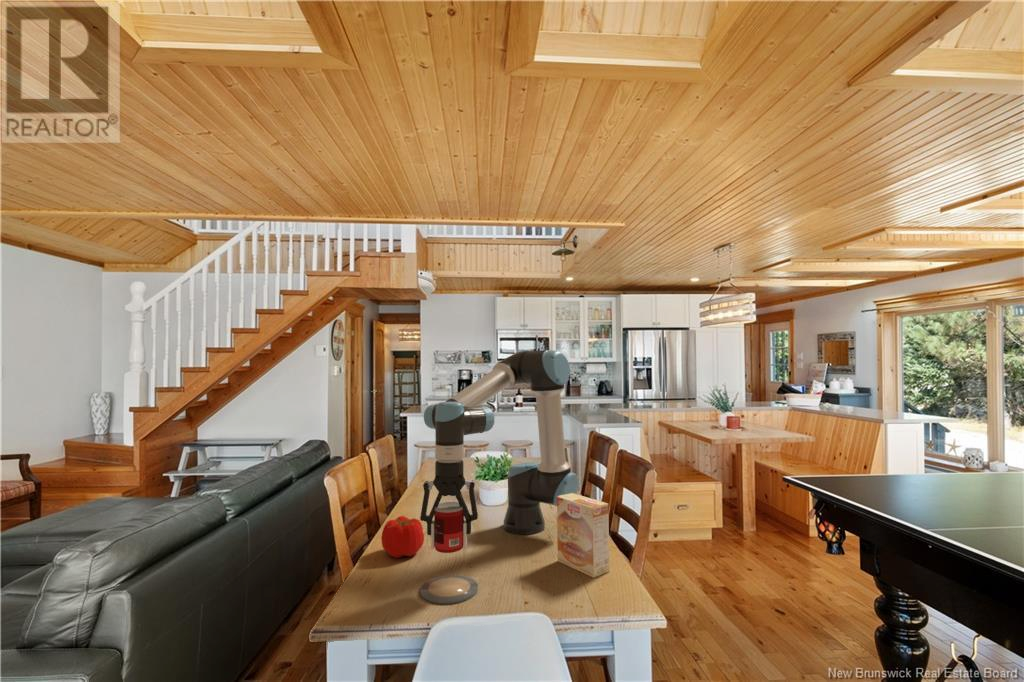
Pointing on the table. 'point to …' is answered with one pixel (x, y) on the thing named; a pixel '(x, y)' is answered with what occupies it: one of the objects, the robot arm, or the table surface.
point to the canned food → (448, 527)
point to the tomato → (402, 537)
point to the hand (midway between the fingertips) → (449, 546)
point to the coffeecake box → (583, 534)
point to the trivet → (449, 589)
